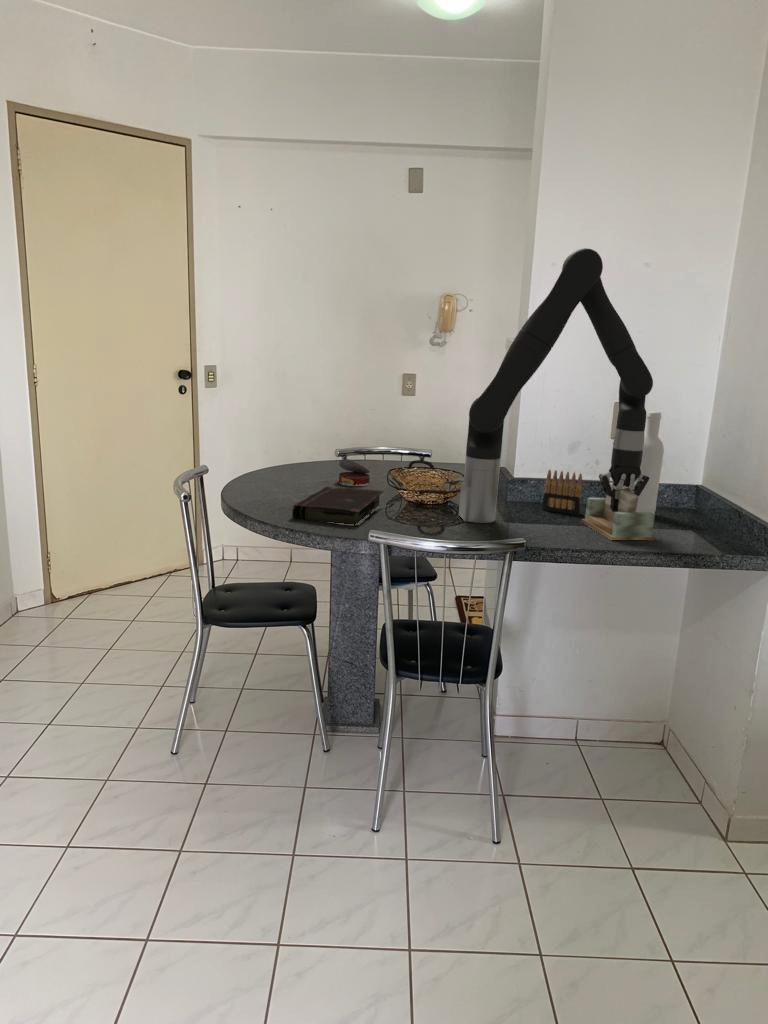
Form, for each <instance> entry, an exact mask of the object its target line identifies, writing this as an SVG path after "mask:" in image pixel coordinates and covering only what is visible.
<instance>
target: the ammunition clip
mask: <svg viewBox="0 0 768 1024" xmlns="http://www.w3.org/2000/svg"><path fill="white" fill-rule="evenodd" d="M576 478H577V475H576V472H575V471H574V472H573V473H572V476H571V481H570V472H569V471H567V472H566V474H565V478H564V472H563V470H561V471H560V474H559V476H558V471H557V469H555V471H554V472H553V476H552V471H551V469H550V468H549V470H548V471H547V475H546V481H545V485H544V493H543V499H542V505H541V510H542V511H549V512H554V513H563V514H568V513H570V514H569V515H575V514H578V515H577V516H579V515H580V514H581V501H582V499H581V498H582V490H583V483H582V482H583V475H582V473H581V472H580V473H579V474H578V479H576ZM576 480H577V484H576Z"/></svg>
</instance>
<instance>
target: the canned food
mask: <svg viewBox="0 0 768 1024" xmlns="http://www.w3.org/2000/svg"><path fill="white" fill-rule="evenodd" d="M338 466H339V467H340V468H341V469H343V470H344V472H343V471H342V472H339V473H338V483H339V482H341V483H345V484H353V485H356V484H358V485H359V484H366V483H369V484H370V480H371V479H370V476H371V475H370V474H369V473H370V472H371V471H370V469H368V468H366V467H365V465H364V466H363V465H362V464H360V463H358V462H356V461H353V460H352V459H349V458H344V459H343V458H342V459H340V461H339V464H338ZM345 471H346V472H345Z"/></svg>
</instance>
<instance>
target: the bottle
mask: <svg viewBox="0 0 768 1024" xmlns="http://www.w3.org/2000/svg"><path fill="white" fill-rule="evenodd" d="M661 419H662V412H661V411H653V410H652V411H651V410H649V411H648V412H647V414H646V424H645V430H644V431H645V432H644V447H643V455H642V462H641V466H640V470H641V473H642V474H643V475H646V476H648V477H649V481H648V482H647V484H646V486H645V487H644V489H643V491H642V492H641V494H640V496H639V497H638V503H637V508H636V512H651V513H653V514H655V512H656V508H657V500H658V492H659V487H660V485H659V484H660V478H661V472H662V466H663V458H664V452H665V448H664V444H663V441H662V440H661V439H660V437H659V431H660V425H661ZM637 482H638V479H637V480H636V481H635V482H634V487H635V485H636V483H637ZM655 515H656V514H655Z"/></svg>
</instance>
